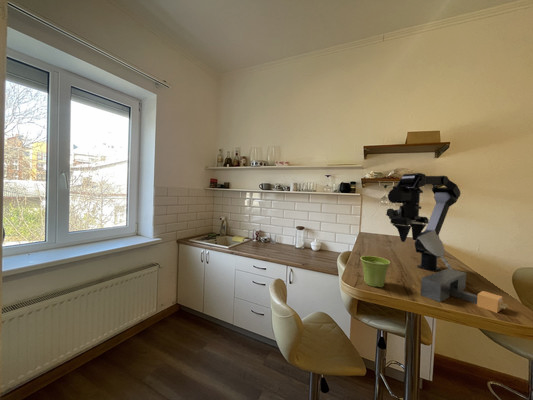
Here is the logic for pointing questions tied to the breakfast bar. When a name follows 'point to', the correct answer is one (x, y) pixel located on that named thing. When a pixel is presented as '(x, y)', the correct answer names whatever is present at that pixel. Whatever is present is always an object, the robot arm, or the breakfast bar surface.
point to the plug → (480, 299)
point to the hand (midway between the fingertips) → (408, 240)
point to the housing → (442, 284)
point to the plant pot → (374, 270)
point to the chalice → (434, 245)
